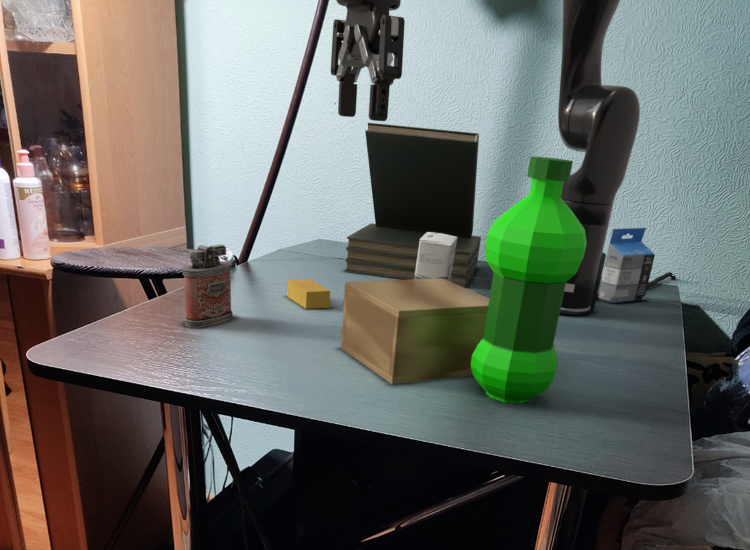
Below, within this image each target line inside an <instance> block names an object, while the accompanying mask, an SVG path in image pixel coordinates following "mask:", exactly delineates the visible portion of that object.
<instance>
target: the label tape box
mask: <svg viewBox="0 0 750 550" xmlns="http://www.w3.org/2000/svg"><path fill="white" fill-rule="evenodd" d="M646 230H647V228H646V227H630V228H628V227H627V228H624V227H623V228H613V229H612V231H611V235H610V240H609V243H608V248H607V253H606V259H605V263H604V267H603V272H602V276H601V281H600V286H599V291H598V294H599V297H598V299H597V300H601V301H604V302H607V303H611V304H616V303H625V302H635V301H643V300H645V298H646V295H647V290H648V288H647V286H648V283H649V282H650V278H651V273H652V270H653V265H654V261H655V256H656V254H655V253H654V252H653V251H652V250H651V249H650V248H649V247H648V246H647V245H645V244H644V242H643V239H644V237H645V232H646ZM627 235H629V236H631V237H630V238H629V237H628V238H623V236H627Z"/></svg>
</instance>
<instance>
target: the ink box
mask: <svg viewBox="0 0 750 550" xmlns="http://www.w3.org/2000/svg"><path fill="white" fill-rule="evenodd" d="M456 243H457V237H456V236H451V235H447V234H442V233H434V232H427V233H426V234H425V235H423V236H422V237H421V238H420V242H419V249H418V256H417V263H416V270H415V277H414V279H436V278H443V279H445V280H447V281H451V275H452V268H453V262H454V256H455V249H456Z"/></svg>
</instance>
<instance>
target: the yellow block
mask: <svg viewBox="0 0 750 550" xmlns="http://www.w3.org/2000/svg"><path fill="white" fill-rule="evenodd" d="M286 284H287V288H286V290H287V291H286V297H287V298H289V299H290V300H292V301H293V302H294V303H296V304H298V305H299V306H301V307H302V308H304V309H305V310H313V309H330V307H331V306H330V305H331V290H330V289H328V288H326V287H324V286H323V285H321V284H320V283H318V282H316V281H314V280H312V279H309V278H308V279H288V280H287V283H286Z"/></svg>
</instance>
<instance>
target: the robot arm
mask: <svg viewBox="0 0 750 550" xmlns="http://www.w3.org/2000/svg"><path fill="white" fill-rule="evenodd" d="M620 2H621V0H561V64H560V77H559V78H560V79H559V91H558V92H559V93H558V94H559V95H558V108H557V126H558V132H559V136H560V139H561V141H562V143H563V145H564V146H565V147H566V148H568V149H569V150H571V151H574V152H580V153H584V157H583V160H582V163H581V165H580V167H579V168H578V169H577V170H576V171H574V172H573V173H571V174H570V179H569V181H564V182H563V187H562V192H561V198H562V200H563V201H564V202H565V203H566V204H567V206H568V207H569V208H570V209H571V211H572V212H573V213H574V215H575V216H576V218H577V219H578V220H579V222H580V223H581V225H582V226H583V228H584V229H585V234H586V241H587V244H586V249H585V254H584V257H583V259H582V262H581V264H580V266H579V269H578V271H577V273H576V274H575V275H574V276H573V277H571V278H570V279H569V280H568V281H566V285H565V290H564V295H563V300H562V305H561V309H560V314H559V315H566V316H567V315H568V316H583V315H587V314H589V313H590V312H594V311H595V306H596V301H598V300H599V299H598V297H599V291H600V286H601V281H602V277H603V272H604V267H605V262H606V257H607V253H605V252H603V251H604V247H605V244H606V243H605V242H606V239H607V233H608V230H609V226H610V221H611V216H612V211H613V207H614V203H615V199H616V195H617V193H618V191H619V190H620V188H621V186H622V185H623V182H624V180H625V177H626V173H627V170H628V167H629V166H628V165H629V163H630V158H631V155H632V151H633V148H634V144H635V142H636V137H637V134H638V129H639V124H640V116H641V106H640V100H639V96H638V95H637V92H635V91H634V90H633V89H632V88H630V87H628V86H624V85H611V84H609V85H608V84H603V83H602V59H603V49H604V43H605V38H606V36H607V32H608V30H609V27H610V25H611V22H612V21H613V18H614V15H615V13H616V11H617V9H618V7H619V4H620ZM336 3H337V4H338V5H339V6H342V7H345V8H346V11H347V12H346V16H345V19H337V18H336V19H334V20H333V24H332V39H331V57H330V75H331V76H335V77H336V81H337V82H339V83H338V101H337V102H338V105H337V106H338V107H337V113H338V115H339V116H340V117H348V118H353V117H356V114H357V99H358V83H357V81H358V79H359V77H360V74H361V71H362V69H364V68H365V67H366V68H367V69H368V74H369V79H370V82H371V83H370V84H369V86H370V87H369V103H368V119H369V120H370V121H373V122H374V121H375V122H386V121H387V120H388V115H389V101H390V89H391V86H393V84H394V81H395V80H400V79H401V78H402V76H403V62H404V41H405V25H406V22H405V18H404V17H403V16H397V15H390V11H396V10H398V9H399V8H400V7H401V3H402V0H336ZM392 63H393V65H392ZM671 272H672V271H668V272H666V273H663V274H662V275H660V276H658V277H657V276H656V278H654V279H652V281H649V282H648V286H647V289H648V288H651V287H653V286H656V285H657V284H659V283H660V282H662V281H664V280H666V279H668V278H670V280H671V281H676V280H677V278H676V277H677V276H676V274H675V275H674V276H672V275H673V274H672V273H673V272H672V273H671Z"/></svg>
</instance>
